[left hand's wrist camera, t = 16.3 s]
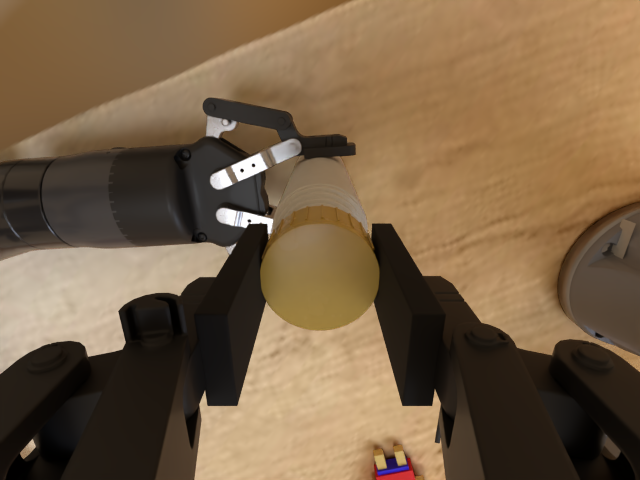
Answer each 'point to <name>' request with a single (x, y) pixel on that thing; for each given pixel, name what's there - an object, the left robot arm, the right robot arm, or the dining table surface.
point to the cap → (319, 269)
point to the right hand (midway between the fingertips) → (354, 184)
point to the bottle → (319, 189)
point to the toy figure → (394, 466)
